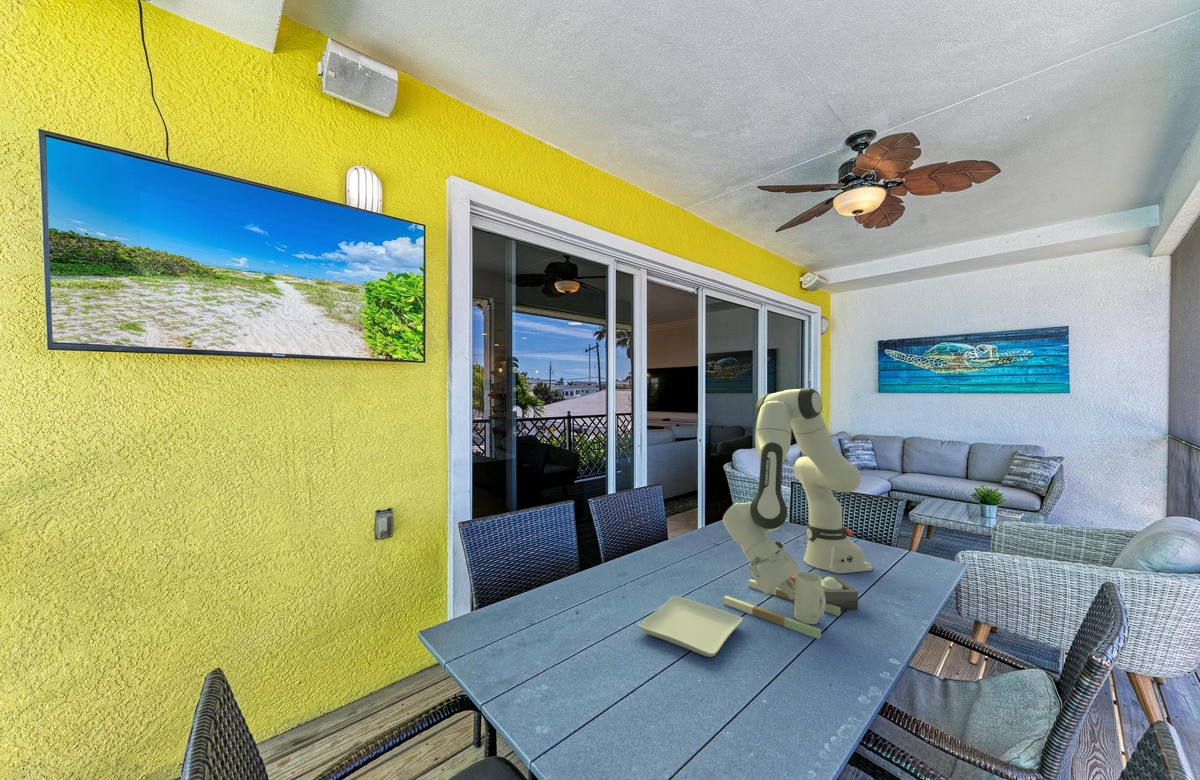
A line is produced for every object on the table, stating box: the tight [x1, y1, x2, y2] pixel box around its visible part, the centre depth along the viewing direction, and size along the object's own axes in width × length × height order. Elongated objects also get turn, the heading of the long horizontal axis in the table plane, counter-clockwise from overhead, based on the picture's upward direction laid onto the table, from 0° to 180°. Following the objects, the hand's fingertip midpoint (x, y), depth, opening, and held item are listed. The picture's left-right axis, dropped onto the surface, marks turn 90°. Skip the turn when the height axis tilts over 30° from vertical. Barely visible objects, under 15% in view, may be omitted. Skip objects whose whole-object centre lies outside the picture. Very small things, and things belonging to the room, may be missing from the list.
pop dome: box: [821, 576, 842, 589], centre depth 136 cm, size 6×6×4 cm
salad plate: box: [638, 595, 744, 658], centre depth 119 cm, size 21×21×3 cm
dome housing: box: [820, 576, 859, 612], centre depth 136 cm, size 11×11×6 cm
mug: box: [793, 570, 826, 625], centre depth 124 cm, size 10×7×12 cm, turn 15°
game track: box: [723, 578, 841, 640], centre depth 132 cm, size 27×18×2 cm, turn 46°
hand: (795, 597), depth 129 cm, fingers closed
